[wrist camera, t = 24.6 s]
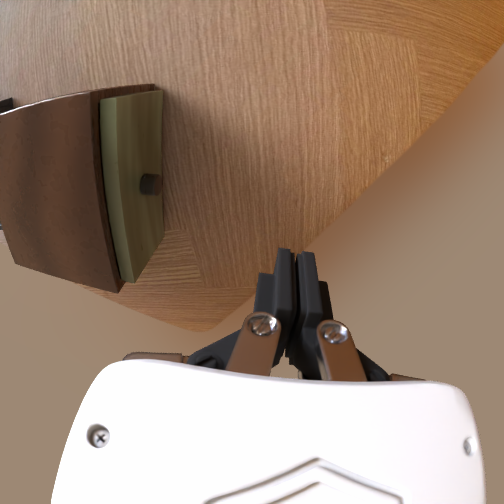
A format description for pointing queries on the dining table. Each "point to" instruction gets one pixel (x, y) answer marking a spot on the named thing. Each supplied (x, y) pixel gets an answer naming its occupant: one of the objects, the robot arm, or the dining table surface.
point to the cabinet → (58, 188)
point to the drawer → (132, 177)
